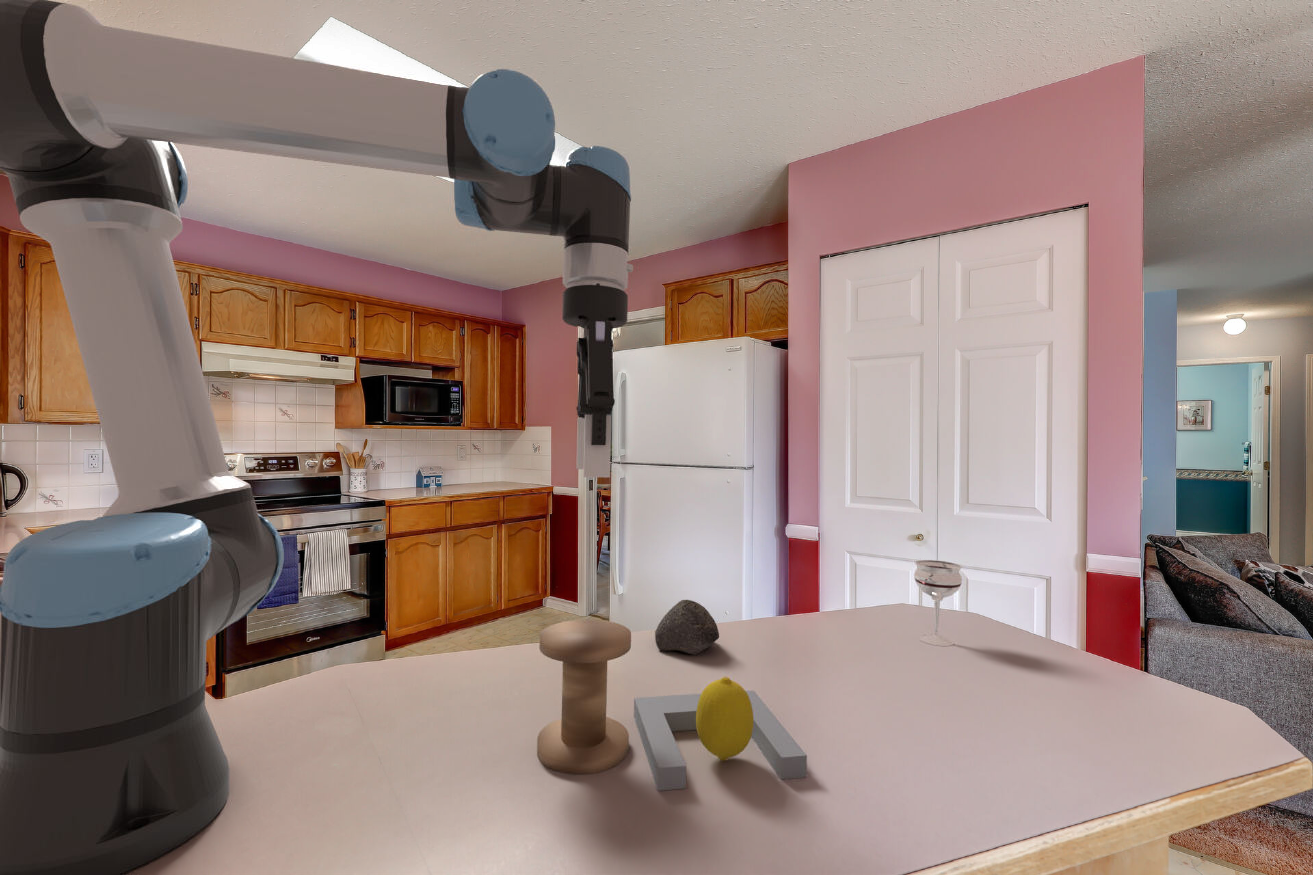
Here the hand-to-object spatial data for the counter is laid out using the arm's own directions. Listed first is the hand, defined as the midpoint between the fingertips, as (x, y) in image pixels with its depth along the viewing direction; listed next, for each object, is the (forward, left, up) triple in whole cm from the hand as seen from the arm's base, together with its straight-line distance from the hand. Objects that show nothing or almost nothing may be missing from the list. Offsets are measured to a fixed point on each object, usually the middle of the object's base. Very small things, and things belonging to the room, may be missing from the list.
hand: (591, 473), depth 68 cm
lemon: (+12, -14, -27) cm, 33 cm away
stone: (+17, +16, -27) cm, 36 cm away
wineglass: (+56, +14, -27) cm, 64 cm away
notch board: (+12, -11, -27) cm, 31 cm away
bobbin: (-1, -10, -27) cm, 29 cm away
